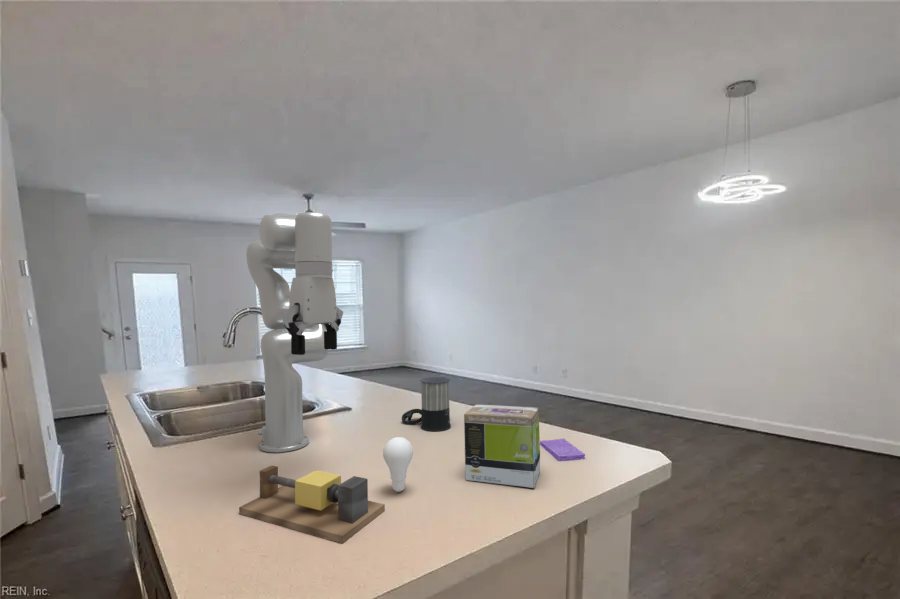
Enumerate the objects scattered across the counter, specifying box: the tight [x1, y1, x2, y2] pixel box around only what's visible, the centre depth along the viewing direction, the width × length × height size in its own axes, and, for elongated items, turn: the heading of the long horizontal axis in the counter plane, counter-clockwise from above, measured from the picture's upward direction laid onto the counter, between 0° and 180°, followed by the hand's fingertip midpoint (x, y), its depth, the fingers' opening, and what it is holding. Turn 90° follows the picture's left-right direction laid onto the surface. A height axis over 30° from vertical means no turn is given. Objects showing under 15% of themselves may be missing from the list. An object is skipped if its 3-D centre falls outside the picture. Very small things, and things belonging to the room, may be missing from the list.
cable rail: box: [238, 464, 386, 544], centre depth 81 cm, size 24×12×7 cm, turn 65°
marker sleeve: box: [295, 470, 342, 510], centre depth 81 cm, size 6×5×4 cm
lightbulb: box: [382, 436, 414, 493], centre depth 90 cm, size 6×6×11 cm
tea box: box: [463, 403, 541, 489], centre depth 97 cm, size 15×10×15 cm, turn 71°
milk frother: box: [401, 376, 452, 432], centre depth 137 cm, size 14×16×15 cm
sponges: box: [540, 438, 586, 462], centre depth 112 cm, size 7×13×2 cm, turn 9°
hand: (315, 351), depth 94 cm, fingers open, 9 cm apart
